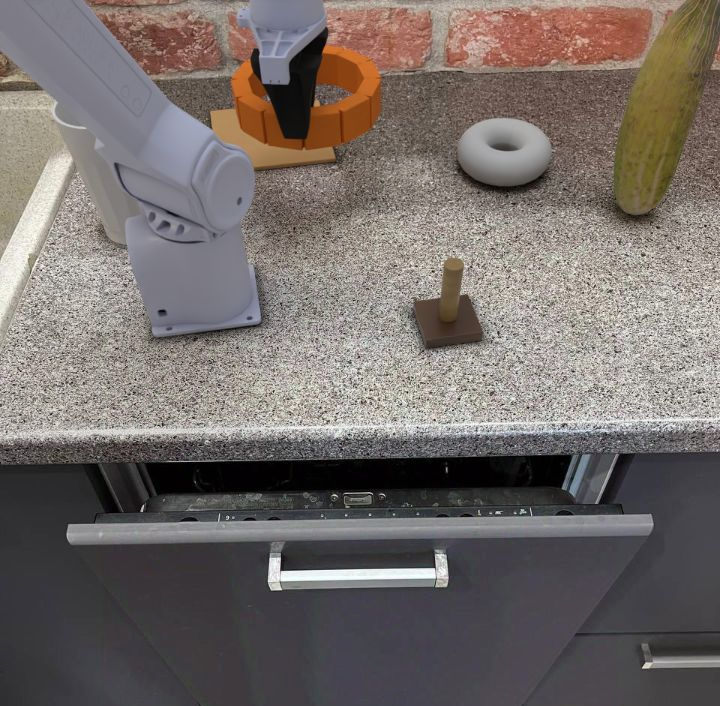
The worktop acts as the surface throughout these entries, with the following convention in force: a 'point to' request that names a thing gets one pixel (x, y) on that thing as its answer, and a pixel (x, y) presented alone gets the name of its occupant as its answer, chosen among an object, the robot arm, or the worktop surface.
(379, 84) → the ring
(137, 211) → the cup
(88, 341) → the worktop surface
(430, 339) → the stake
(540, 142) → the donut
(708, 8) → the vegetable
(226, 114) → the mat
